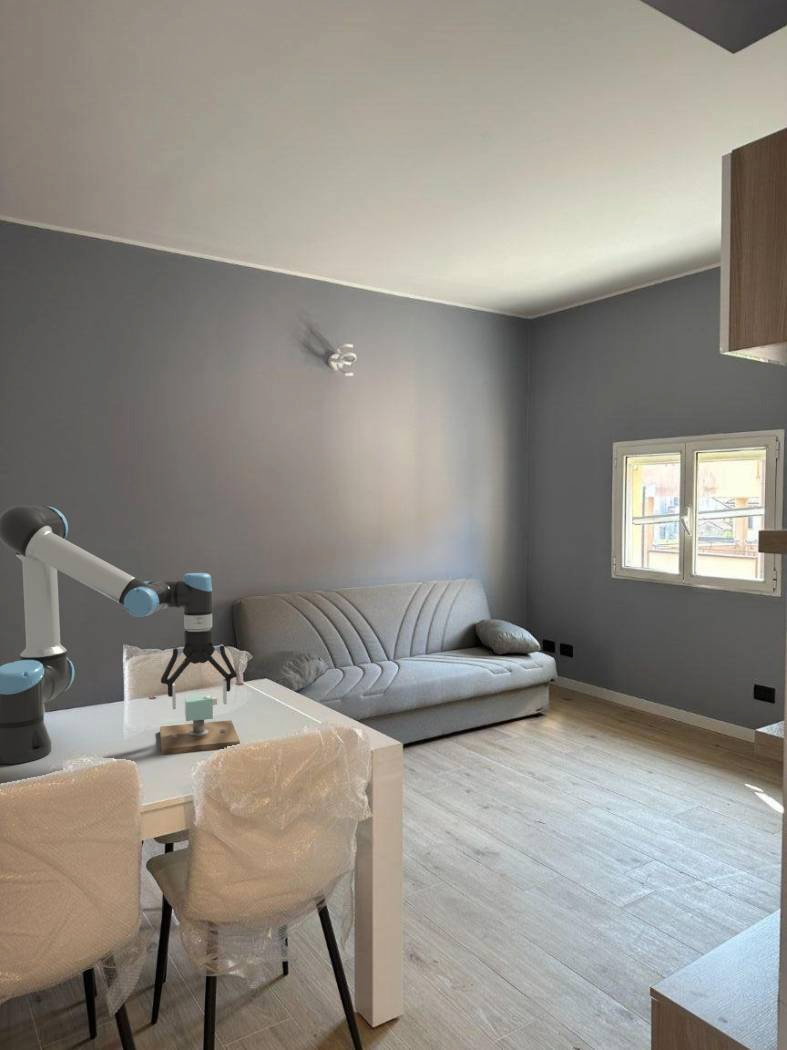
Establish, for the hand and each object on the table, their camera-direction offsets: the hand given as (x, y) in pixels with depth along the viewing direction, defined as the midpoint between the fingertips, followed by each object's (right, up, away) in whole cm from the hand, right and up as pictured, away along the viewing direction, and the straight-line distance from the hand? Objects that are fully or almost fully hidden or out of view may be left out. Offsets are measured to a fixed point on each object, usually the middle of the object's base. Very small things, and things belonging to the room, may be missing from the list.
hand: (199, 705), depth 201 cm
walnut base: (0, -9, 0) cm, 9 cm away
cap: (0, -3, 0) cm, 3 cm away
